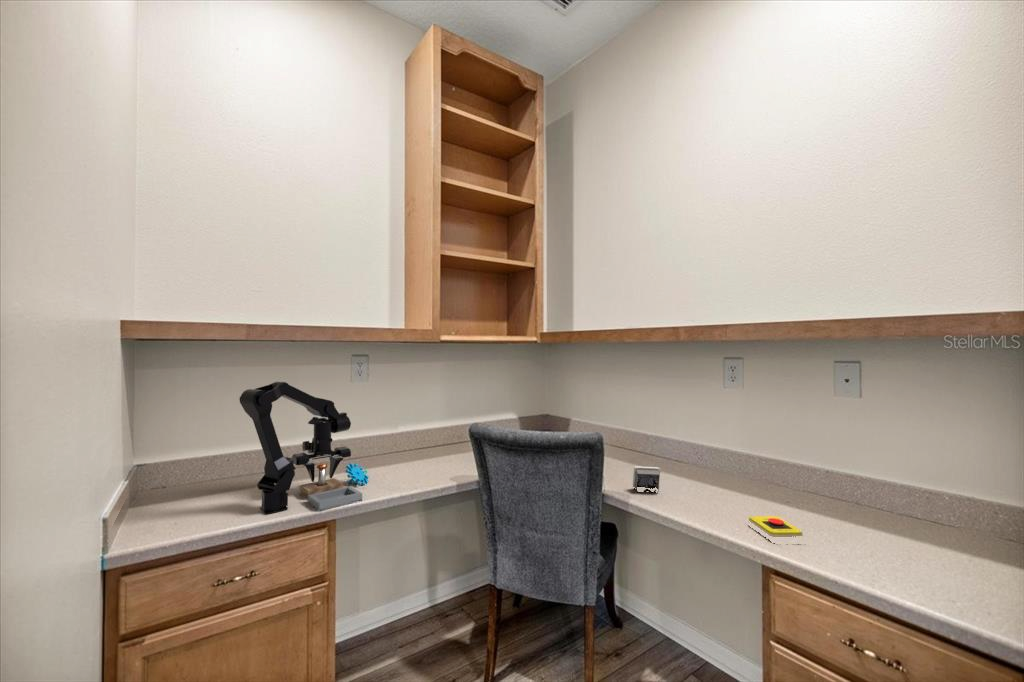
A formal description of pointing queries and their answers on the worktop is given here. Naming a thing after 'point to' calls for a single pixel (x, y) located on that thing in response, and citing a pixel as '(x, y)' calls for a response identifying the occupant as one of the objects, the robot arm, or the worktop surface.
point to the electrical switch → (646, 477)
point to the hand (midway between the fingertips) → (321, 479)
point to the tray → (334, 498)
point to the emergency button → (775, 526)
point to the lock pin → (321, 474)
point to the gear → (357, 474)
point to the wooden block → (313, 487)
